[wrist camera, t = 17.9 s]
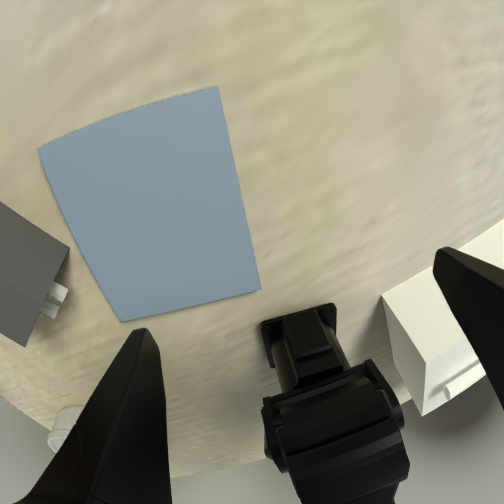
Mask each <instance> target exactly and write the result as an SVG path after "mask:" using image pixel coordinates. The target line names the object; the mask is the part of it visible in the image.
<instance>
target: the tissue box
mask: <svg viewBox="0 0 504 504" xmlns="http://www.w3.org/2000/svg"><path fill="white" fill-rule="evenodd" d="M458 251H461V252H463V253H466V254H468V255H471V256H473V257H476V258H478V259H480V260H483V261H485V262H488V263H490V264H492V265H495V266H497V267H499V268H502V269H504V219H502V220H501V221H499V222H498V223H497V224H495V225H494V226H492V227H491V228H489V229H488V230H486V231H485V232H483V233H482V234H480V235H479V236H478V237H476V238H475V239H473V240H471V241H470V242H468V243H467V244H465V245H464V246H462V247H461V248H459V249H458ZM432 270H433V265H432V266H430V267H429V268H427V269H425V270H424V271H422V272H420V273H418V274H417V275H415V276H413V277H412V278H410V279H408V280H406V281H405V282H403V283H401V284H399V285H398V286H396V287H394V288H392V289H390V290H389V291H387V292H385V293H383V294H381V296H382V301H383V305H384V310H385V315H386V320H387V326H388V331H389V337H390V342H391V348H392V354H393V361H394V365H395V367H396V369H397V371H398V372H399V374H400V376H401V378H402V380H403V382H404V383H405V385H406V387H407V389H408V391H409V393H410V395H411V396H412V398H413V400H414V402H415V404H416V406H417V408H418V410H419V412H420V414H421V416H423V415H425V414H427V413H429V412H431V411H432V410H434V409H435V408H437V407H439V406H440V405H442V404H444V403H445V402H447V401H448V400H450V399H452V398H453V397H455V396H456V395H458V394H459V393H460V392H462V391H464V390H465V389H467V388H468V387H469V386H471V385H472V384H474V383H475V382H476V381H478V380H479V379H481V378H482V377H483V376H485V375H486V373H485V371H484V369H483V367H482V365H481V363H480V361H479V359H478V357H477V355H476V354H475V352H474V350H473V348H472V346H471V345H470V343H469V341H468V339H467V338H466V336H465V334H464V332H463V331H462V329H461V327H460V326H459V324H458V322H457V321H456V319H455V317H454V315H453V314H452V312H451V310H450V308H449V306H448V304H447V302H446V300H445V298H444V296H443V294H442V292H441V290H440V288H439V286H438V284H437V282H436V280H435V278H434V276H433V271H432Z"/></svg>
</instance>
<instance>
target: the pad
mask: <svg viewBox="0 0 504 504" xmlns="http://www.w3.org/2000/svg"><path fill="white" fill-rule="evenodd" d="M37 152H38V155H39V157H40V160H41V163H42V165H43V168H44V170H45V173H46V176H47V178H48V181H49V183H50V186H51V188H52V190H53V193H54V195H55V197H56V200H57V202H58V204H59V207H60V209H61V211H62V213H63V215H64V218H65V220H66V222H67V224H68V226H69V228H70V230H71V233H72V235H73V237H74V239H75V241H76V243H77V245H78V247H79V249H80V251H81V253H82V255H83V257H84V258H85V260H86V262H87V264H88V266H89V268H90V270H91V272H92V273H93V275H94V277H95V279H96V281H97V282H98V284H99V286H100V288H101V290H102V291H103V293H104V295H105V296H106V298H107V300H108V302H109V303H110V305H111V307H112V308H113V310H114V312H115V313H116V315H117V317H118V318H119V320H120V321H121V322H123V321H128V320H133V319H137V318H142V317H147V316H151V315H156V314H160V313H165V312H169V311H174V310H178V309H182V308H187V307H191V306H195V305H200V304H204V303H208V302H212V301H216V300H220V299H225V298H229V297H233V296H237V295H241V294H245V293H249V292H253V291H257V290H261V284H260V279H259V275H258V270H257V265H256V261H255V256H254V251H253V247H252V242H251V237H250V233H249V228H248V223H247V219H246V214H245V209H244V205H243V200H242V196H241V191H240V186H239V182H238V177H237V172H236V168H235V163H234V158H233V154H232V149H231V144H230V140H229V135H228V131H227V126H226V121H225V117H224V112H223V107H222V103H221V98H220V93H219V89H218V86H214V87H209V88H205V89H201V90H197V91H193V92H189V93H185V94H181V95H177V96H174V97H170V98H167V99H163V100H160V101H156V102H153V103H150V104H147V105H143V106H140V107H137V108H134V109H131V110H128V111H125V112H122V113H119V114H117V115H114V116H111V117H108V118H106V119H103V120H100V121H98V122H95V123H93V124H90V125H88V126H85V127H83V128H80V129H78V130H75V131H73V132H71V133H68V134H66V135H64V136H62V137H59V138H57V139H55V140H53V141H51V142H48V143H46V144H44V145H42V146H41V147H39V148H38V149H37Z"/></svg>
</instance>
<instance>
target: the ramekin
mask: <svg viewBox="0 0 504 504" xmlns="http://www.w3.org/2000/svg"><path fill="white" fill-rule="evenodd" d="M84 407H85V406H83V405H73V406H68V407H66V408H64V409H62V410H61V411H60V412H59V414H58V416H57V418H56V420H55V423H54V425H53V428H52V431H51V433H49V435H48V438H47V443H48V445H49V446H50V448H51V449H52V450H53V451H55V452H56V453H57V452H58V450H59V449H60V447H61V446H62V444H63V442H64V441H65V439H66V437H67V436H68V434H69V432H70V431H71V429H72V427H73V425H74V424H76V420H77V419H78V417H79V415H80V414H81V412H82V410H83V409H84Z"/></svg>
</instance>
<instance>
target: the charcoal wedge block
mask: <svg viewBox="0 0 504 504" xmlns="http://www.w3.org/2000/svg"><path fill="white" fill-rule="evenodd" d="M69 249H70V248H69V247H68V246H66V245H65V244H63V243H61V242H60V241H58V240H57V239H55V238H54V237H52V236H50V235H49V234H47V233H46V232H44V231H43V230H41V229H40V228H38V227H37V226H35V225H34V224H32V223H31V222H29V221H28V220H26V219H25V218H23V217H22V216H20V215H19V214H18V213H16V212H15V211H13V210H12V209H10V208H9V207H7V206H6V205H5V204H3V203H2V202H0V333H1V334H3V335H5V336H6V337H8V338H10V339H11V340H13V341H15V342H16V343H18V344H20V345H22V346H23V347H26V345H27V342H28V339H29V337H30V334H31V331H32V329H33V326H34V324H35V321H36V319H37V317H38V314H39V312H42V313H44V314H45V315H47V316H49V317H51V318H52V319H54V318H55V316H56V314H57V311H58V309H59V306H57V305H55V304H54V303H52V302H50V301H48V300H47V299H45V298H46V296H47V294H48V295H50V296H52V297H53V298H55V299H57V300H59V301H60V302H63V300H64V298H65V296H66V294H67V291H68V289H67V288H65V287H63V286H62V285H60V284H58V283H57V282H55V281H54V279H55V276H56V274H57V272H58V270H59V268H60V266H61V264H62V262H63V260H64V258H65V256H66V254H67V252H68V250H69Z"/></svg>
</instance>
